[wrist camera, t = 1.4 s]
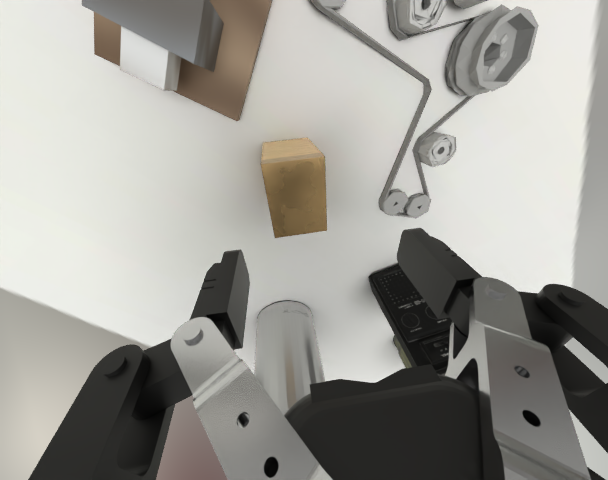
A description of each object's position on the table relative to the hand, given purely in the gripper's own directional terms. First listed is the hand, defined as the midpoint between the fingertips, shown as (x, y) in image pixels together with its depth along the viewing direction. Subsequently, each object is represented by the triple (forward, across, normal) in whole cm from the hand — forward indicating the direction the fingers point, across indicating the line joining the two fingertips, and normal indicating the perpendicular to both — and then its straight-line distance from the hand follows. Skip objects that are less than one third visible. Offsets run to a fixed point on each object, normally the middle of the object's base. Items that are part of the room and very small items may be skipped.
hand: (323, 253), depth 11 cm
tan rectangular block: (+15, +1, 0) cm, 15 cm away
